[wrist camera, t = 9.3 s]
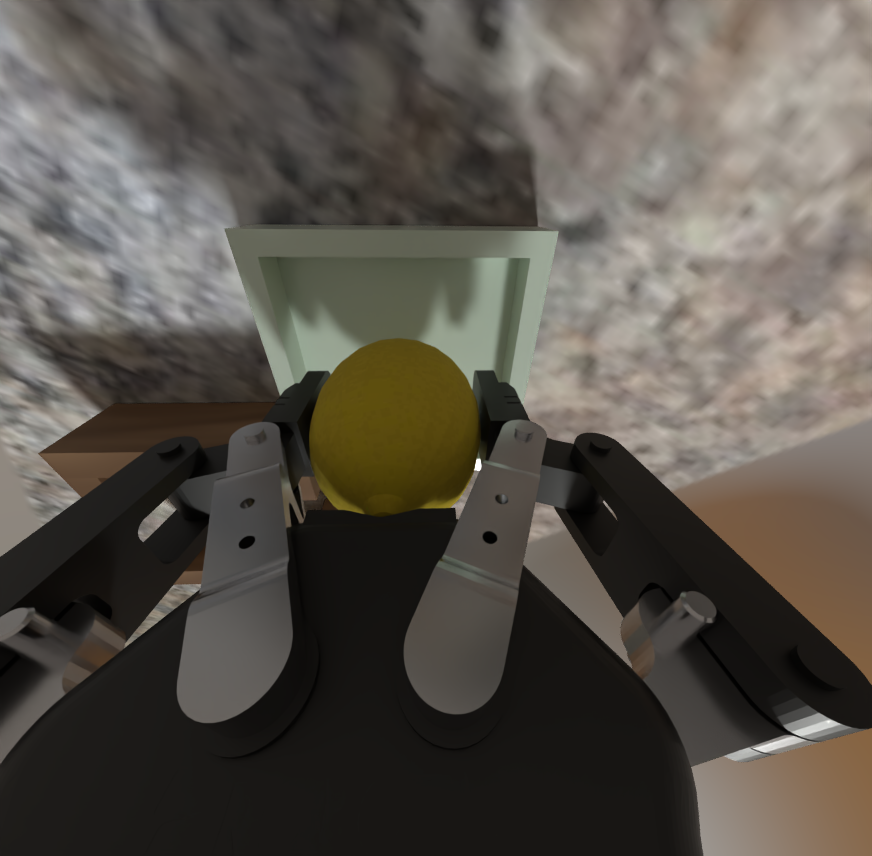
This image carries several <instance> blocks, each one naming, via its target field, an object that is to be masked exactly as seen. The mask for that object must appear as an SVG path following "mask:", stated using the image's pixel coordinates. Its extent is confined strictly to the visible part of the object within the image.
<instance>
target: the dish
mask: <svg viewBox="0 0 872 856" xmlns="http://www.w3.org/2000/svg"><path fill="white" fill-rule="evenodd" d="M225 232H226V235H227V238H228V241H229V244H230V247H231V250H232V253H233V256H234V259H235V262H236V265H237V268H238V271H239V274H240V277H241V280H242V283H243V286H244V289H245V292H246V295H247V298H248V301H249V304H250V307H251V310H252V313H253V316H254V319H255V322H256V325H257V328H258V331H259V334H260V337H261V340H262V343H263V346H264V349H265V352H266V355H267V358H268V361H269V364H270V367H271V370H272V373H273V376H274V379H275V382H276V385H277V388H278V391H279V394H280V396H281V394H282V393H283V392H284V390H285V389H287V388H289V387H290V386H292V385H293V384H295V383H300V382H301V380H302V379H303V377H304V376H305V374H306V373H307V372H308V371H329V372H330V375H331V374H332V373H333V371H334V370H335V368H336V367H337V366H338V365H339V364H340V363H341V362H342V361H343V360H345V359H346V358H347V357H348V356H350V355H351V354H352V353H354V352H355V351H356V350H358V349H359V348H361V347H363V346H366V345H369V344H371V343H374V342H376V341H379V340H385V339H394V338H403V339H410V340H418V341H420V342H423V343H426V344H428V345H431V346H433V347H436V348H437V349H439V350H440V351H441V352H443V353H444V354H446V355H447V356H448V357H450V358H451V359H452V360H453V361H454V362H455V364H456V365H457V366H458V367H459V368H460V370H461V371H462V372H463V373H464V374H465V376H466V378H467V379H468V382H469V384H470V386H471V388H473V377H474V371H475V370H494V372H495V375H496V377H497V380H498V382H507V383H508V384H509V385H511V386H512V387H513V388H515V390H516V392H517V394H518V397H519V399H520V401H521V404H522V405H523V403H524V398H525V393H526V388H527V383H528V378H529V373H530V368H531V364H532V359H533V354H534V349H535V344H536V339H537V334H538V329H539V325H540V320H541V315H542V310H543V305H544V300H545V295H546V291H547V286H548V281H549V276H550V271H551V266H552V261H553V256H554V252H555V247H556V242H557V237H558V232H559V231H555V230H551V229H547V228H543V227H535V226H407V225H280V224H254V225H247V226H240V227H233V228H226V229H225ZM480 469H481V462H480V457H479V452H478V456H477V461H476V465H475V469H474V470H480Z"/></svg>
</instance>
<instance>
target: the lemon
mask: <svg viewBox="0 0 872 856" xmlns="http://www.w3.org/2000/svg"><path fill="white" fill-rule="evenodd" d="M480 438H481V428H480V418H479V409H478V404H477V400H476V397H475V395H474V393H473V391H472V388H471V386H470V384H469V382H468V379H467V378H466V376H465V374H464V373H463V372H462V371H461V370H460V368H459V367H458V366H457V365H456V364H455V362H454V361H453V360H452V359H451V358H450V357H448V356H447V355H446V354H444V353H443V352H441V351H440V350H439V349H437V348H436V347H433V346H431V345H428V344H426V343H423V342H420V341H418V340H410V339H403V338H394V339H385V340H379V341H376V342H374V343H371V344H369V345H366V346H363V347H361V348H359V349H358V350H356V351H355V352H354V353H352V354H351V355H350V356H348V357H347V358H346V359H345V360H343V361H342V362H341V363H340V364H339V365H338V366H337V367H336V368H335V370H334V371H333V373H332V374H331V375H330V377H329V378H328V379H327V381H326V382H325V384H324V385H323V387H322V389H321V391H320V393H319V396H318V399H317V402H316V405H315V409H314V412H313V415H312V419H311V424H310V432H309V447H310V461H311V467H312V470H313V472H314V475H315V477H316V480H317V482H318V485H319V487H320V489H321V490H322V492H323V493H324V494H325V496H326V497H327V498H328V499H329V501H330V502H331V503H332V505H333V506H334V507H336V508H337V509H338V510H348V511H353V512H357V513H362V514H367V515H372V516H376V517H384V516H389V515H393V514H398V513H402V512H406V511H411V510H415V509H419V508H450V507H451V506H452V505H453V504H454V503H456V502H457V501H458V499H459V498H460V497H461V495H462V494H463V492H464V491H465V489H466V487H467V485H468V484H469V482H470V480H471V477H472V475H473V473H474V469H475V465H476V461H477V456H478V451H479V446H480Z"/></svg>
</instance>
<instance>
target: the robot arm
mask: <svg viewBox="0 0 872 856" xmlns="http://www.w3.org/2000/svg"><path fill="white" fill-rule="evenodd" d="M329 377H330V372H329V371H308V372H307V373H306V374H305V376H304V377H303V379H302V380H301V382H300V383H295V384H293V385H292V386H290V387H289V388H287V389H285V390H284V392H283V393H282V394H281V396H280V397H279V399H278V400H277V401H276V403H275V405H273V407H272V408H271V409H270V411H269V412H268V413H267V415H266V416H265V418H264V419H263V420H262V422H258V423H253V424H250V425H247V426H244V427H242V428H240V429H239V430H237V431H236V432H235V433H234V434H233V435H232V436H231V437H230V440H229V443H228V444H224V445H219V446H214V447H209V448H204V449H203V448H202V446H201V444H200V442H199V441H198V439H196V438H194V437H190V436H181V437H175V438H171V439H168V440H165V441H162V442H160V443H158V444H156V445H154V446H152V447H151V448H149V449H148V450H147V451H145V452H144V453H143V454H141V455H140V456H138V457H137V458H136V459H134V460H133V461H132V462H130V463H129V464H127V465H126V466H125V467H123V468H122V469H121V470H119V471H118V472H116V473H115V474H114V475H112V476H111V477H110V478H108V479H107V480H105V481H104V482H103V483H101V484H100V485H99V486H97V487H96V488H94V489H93V490H92V491H90V492H89V493H88V494H86V495H85V496H83V497H82V498H81V499H79V500H78V501H77V502H75V503H74V504H72V505H71V506H70V507H68V508H67V509H66V510H64V511H63V512H61V513H60V514H59V515H57V516H56V517H55V518H53V519H52V520H51V521H49V522H48V523H46V524H45V525H44V526H42V527H41V528H40V529H38V530H37V531H35V532H34V533H33V534H31V535H30V536H29V537H27V538H26V539H24V540H23V541H22V542H20V543H19V544H18V545H16V546H15V547H14V548H12V549H11V550H9V551H8V552H7V553H5V554H4V555H3V556H1V557H0V856H703V850H702V844H701V837H700V824H699V812H698V802H697V792H696V787H695V782H694V778H693V773H692V769H691V767H692V766H695V765H698V764H701V763H704V762H707V761H710V760H713V759H716V758H719V757H722V756H725V757H727V758H729V759H732V760H734V761H739V762H749V761H753V760H757V759H760V758H764V757H767V756H771V755H775V754H778V753H782V752H786V751H790V750H793V749H797V748H800V747H804V746H807V745H812V744H815V743H819V742H822V741H826V740H829V739H833V738H837V737H841V736H844V735H848V734H852V733H855V732H859V731H863V730H866V729H870V728H872V685H871V684H870V683H869V681H868V680H867V678H866V677H865V675H864V674H863V673H862V672H861V671H860V670H859V669H858V668H857V666H856V665H855V664H854V663H853V662H852V661H851V660H850V659H849V658H848V657H847V656H845V654H843V653H842V652H841V651H840V650H839V649H838V648H837V647H836V646H835V645H834V644H833V643H832V642H831V641H830V640H829V639H828V638H826V637H825V636H824V635H823V634H822V633H821V632H820V631H819V630H818V629H817V628H816V627H815V626H814V625H813V624H811V623H810V622H809V621H808V620H807V619H806V618H805V617H804V616H803V615H802V614H801V613H800V612H799V611H798V610H797V609H795V607H793V606H792V605H791V604H790V603H789V602H788V601H787V600H786V599H785V598H784V597H783V596H782V595H780V593H779V592H777V591H776V590H775V589H774V588H773V587H772V586H771V585H770V584H769V583H768V582H767V581H766V580H765V579H764V578H762V577H761V576H760V575H759V574H758V573H757V572H756V571H755V570H754V569H753V568H752V567H751V566H750V565H749V564H747V562H745V561H744V560H743V559H742V558H741V557H740V556H739V555H738V554H737V553H736V552H735V551H734V550H733V549H732V548H731V547H730V546H728V545H727V544H726V543H725V542H724V541H723V540H722V539H721V538H720V537H719V536H718V535H717V534H715V532H713V531H712V530H711V529H710V528H709V527H708V526H707V525H706V524H705V523H704V522H703V521H702V520H701V519H699V518H698V516H696V515H695V514H694V513H693V512H692V511H691V510H690V509H689V508H688V507H687V506H686V505H685V504H684V503H682V501H680V500H679V499H678V498H677V497H676V496H675V495H674V494H673V493H672V492H671V491H670V490H669V489H668V488H667V487H666V486H665V485H664V484H662V483H661V482H660V481H659V480H658V479H657V478H656V477H655V476H654V475H653V474H652V473H651V472H650V471H649V470H648V469H646V468H645V467H644V466H643V465H642V464H641V463H640V462H639V461H638V460H637V459H636V458H635V457H634V456H633V455H632V454H630V453H629V452H628V451H627V450H626V449H625V448H624V447H623V446H622V445H621V444H620V443H619V442H617V441H616V440H614V439H612V438H610V437H608V436H605V435H602V434H598V433H583V434H580V435H579V436H577V437H576V439H575V442H574V444H571V443H566V442H561V441H556V440H552V439H549V438H547V434H546V431H545V430H544V429H543V428H542V427H541V426H539V425H538V424H536V423H534V422H531V421H530V420H529V418H528V415H527V413H526V411H525V409H524V407H523V405H522V404H521V401H520V399H519V397H518V394H517V392H516V390H515V388H513V387H512V386H511V385H509V384H508V383H507V382H498V380H497V377H496V375H495V372H494V370H475V371H474V377H473V388H472V391H473V393H474V395H475V397H476V400H477V404H478V409H479V418H480V428H481V438H480V446H479V451H478V452H479V457H480V462H481V469H480V471H479V473H478V476H477V478H476V481H475V483H474V485H473V488H472V490H471V492H470V495H469V497H468V499H467V502H466V504H465V506H464V509H463V511H462V513H461V516H460V518H459V520H458V519H456V512H455V508H419V509H415V510H411V511H406V512H402V513H398V514H393V515H389V516H384V517H376V516H372V515H367V514H362V513H357V512H353V511H348V510H308V511H307V513H306V514H305V508H304V503H303V497H302V491H301V488H300V485H299V481H300V479H301V477H314V472H313V470H312V467H311V461H310V447H309V432H310V424H311V419H312V415H313V412H314V409H315V405H316V402H317V399H318V396H319V393H320V391H321V389H322V387H323V385H324V384H325V382H326V381H327V379H328V378H329ZM167 497H168V498H169V500H170V501H171V502H172V504H173V505H174V506H175V508H176V509H177V510H176V511H175V512H174V513H173V514H172V515H171V516H170V517H169V518H168V519H167V520H166V521H165V522H164V523H163V524H162V525H161V526H160V527H159V528H158V529H157V530H156V531H155V532H154V533H153V534H152V535H151V536H150V537H149V538H147V539H146V540H145V541H144V542H142V541H141V540H140V539H139V537H138V529H139V526H140V524H141V522H142V521H143V520H144V519H145V518H146V517H147V516H148V515H149V514H150V513H151V512H152V511H153V510H154V509H155V508H156V507H158V506H159V505H160V504H161V503H162V502H163V501H164V500H165V499H166V498H167ZM603 501H605V502H606V503H607V504H608V506H609V507H610V508H611V509H612V510H613V512H614V513H615V515H616V517H617V520H618V521H617V520H616V518H615V517H614V516H613V515H612V513H611V512H610V511H609V510H608V508H607V507H606V506H605V505H604V503H603ZM535 502H539V503H543V504H547V505H551V506H554V508H555V510H556V512H557V513H558V515H559V516H560V518H561V520H562V521H563V523H564V524H565V526H566V528H567V529H568V531H569V532H570V534H571V535H572V537H573V539H574V540H575V542H576V543H577V545H578V546H579V548H580V550H581V551H582V553H583V554H584V556H585V558H586V559H587V561H588V562H589V564H590V565H591V567H592V569H593V570H594V572H595V573H596V575H597V577H598V578H599V580H600V581H601V583H602V585H603V586H604V588H605V589H606V591H607V593H608V594H609V596H610V597H611V599H612V600H613V602H614V604H615V605H616V607H617V608H618V610H619V612H620V613H621V614H622V616H623V620H622V622H621V627H620V628H621V638H622V641H623V644H624V646H625V648H626V651H627V656H628V659H629V661H630V662H631V664H632V668H631V667H629V666H628V665H627V664H626V663H625V662H624V661H623V660H622V659H621V658H620V657H619V656H618V655H617V654H616V653H615V652H614V651H613V650H612V649H611V648H610V647H609V646H608V645H607V644H605V643H604V642H603V641H602V640H601V639H600V638H599V637H598V636H597V635H596V634H595V633H594V632H593V631H592V630H591V629H590V628H589V627H588V626H587V625H586V624H585V623H584V622H583V621H581V620H580V619H579V618H578V617H577V616H576V615H575V614H574V613H573V612H572V611H571V610H570V609H569V608H568V607H567V606H566V605H565V604H564V603H563V602H562V601H561V600H560V599H558V598H557V597H556V596H555V595H554V594H553V593H552V592H551V591H550V590H549V589H548V588H547V587H546V586H545V585H544V584H543V583H542V582H541V581H540V580H539V579H538V578H537V577H535V576H534V575H533V574H532V573H531V572H530V571H529V570H528V569H527V568H526V567H525V566H524V565H523V562H524V557H525V551H526V547H527V542H528V537H529V532H530V527H531V522H532V517H533V512H534V507H535ZM205 546H206V550H205V558H204V565H203V573H202V581H201V588H200V590H199V591H197V592H196V593H195V594H194V595H192V596H191V597H190V598H188V599H187V600H186V601H185V602H183V603H182V604H181V605H179V606H178V607H177V608H176V609H174V610H173V611H172V612H170V613H169V614H168V615H167V616H165V617H164V618H163V619H161V620H160V621H159V622H158V623H156V624H155V625H154V626H152V627H151V628H150V629H149V630H147V631H146V632H145V633H143V634H142V635H141V636H140V637H138V638H137V639H136V640H134V641H133V642H132V643H131V644H129V645H128V646H127V647H125V648H124V646H125V643H126V642H127V640H128V639H129V638H130V637H131V635H132V634H133V633H134V632H135V631H136V629H137V628H138V627H139V626H140V625H141V623H142V622H143V621H144V620H145V618H146V617H147V616H148V615H149V614H150V612H151V611H152V610H153V609H154V608H155V606H156V605H157V604H158V603H159V601H160V600H161V599H162V598H163V597H164V595H165V594H166V593H167V592H168V591H169V589H170V588H171V587H172V586H173V585H174V583H175V582H176V581H177V580H178V578H179V577H180V576H181V575H182V574H183V572H184V571H185V570H186V569H187V568H188V566H189V565H190V564H191V563H192V561H193V560H194V559H195V558H196V557H197V555H198V554H199V553H200V552H201V551H202V549H203V548H204V547H205Z"/></svg>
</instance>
